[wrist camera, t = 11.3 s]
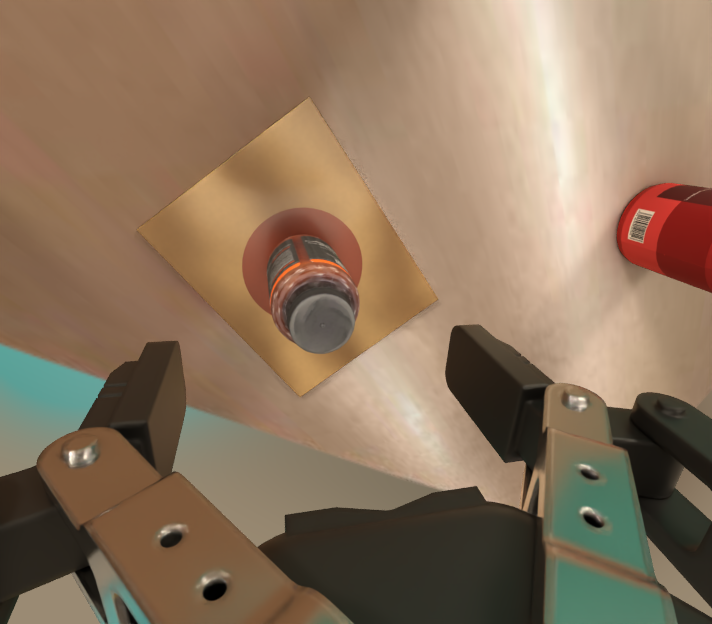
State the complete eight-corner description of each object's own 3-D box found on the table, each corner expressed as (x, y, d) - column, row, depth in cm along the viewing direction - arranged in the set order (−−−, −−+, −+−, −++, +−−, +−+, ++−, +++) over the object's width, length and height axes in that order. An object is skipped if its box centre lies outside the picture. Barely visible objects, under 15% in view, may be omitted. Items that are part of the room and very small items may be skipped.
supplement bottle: (260, 294, 35) (261, 362, 25) (274, 224, 33) (281, 268, 23) (329, 306, 37) (356, 374, 27) (346, 241, 35) (382, 287, 25)
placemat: (299, 396, 40) (299, 397, 40) (137, 229, 31) (136, 229, 31) (437, 298, 39) (438, 299, 39) (309, 97, 30) (309, 96, 30)
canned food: (625, 278, 43) (735, 323, 33) (603, 214, 39) (719, 243, 29) (690, 233, 42) (822, 266, 32) (674, 164, 39) (816, 177, 29)
